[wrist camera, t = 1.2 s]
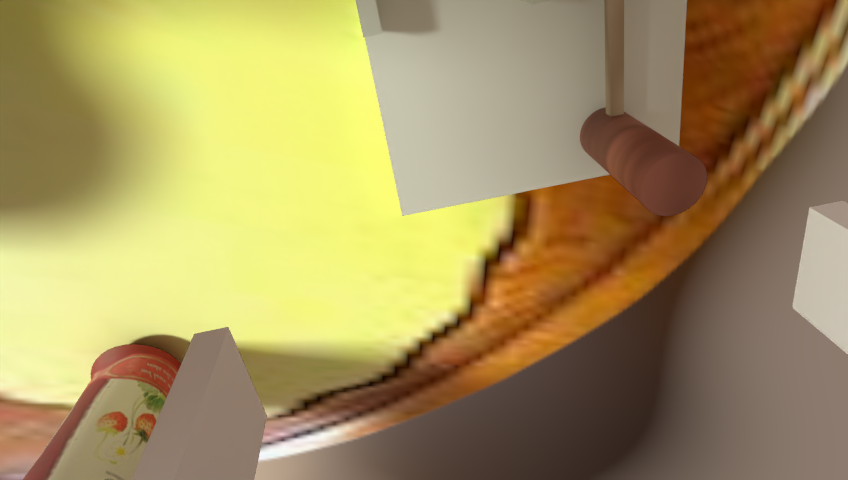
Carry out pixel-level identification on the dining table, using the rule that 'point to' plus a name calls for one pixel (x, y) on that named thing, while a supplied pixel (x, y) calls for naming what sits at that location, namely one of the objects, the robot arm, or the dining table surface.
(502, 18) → the white compartment tray
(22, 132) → the dining table surface
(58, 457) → the liquor
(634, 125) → the tethered block
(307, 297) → the dining table surface
